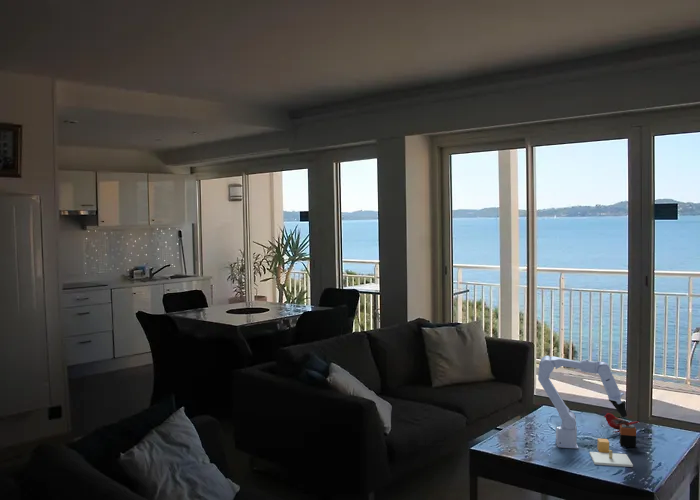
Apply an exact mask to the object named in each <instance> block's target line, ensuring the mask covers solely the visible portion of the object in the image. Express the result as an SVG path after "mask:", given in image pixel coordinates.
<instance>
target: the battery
mask: <svg viewBox="0 0 700 500" xmlns="http://www.w3.org/2000/svg"><path fill="white" fill-rule="evenodd" d="M619 444H620V447H627V448H628V447H629V448H636V447H637V428H636V426H635V424H632V425H629V426H626V425H620V432H619Z"/></svg>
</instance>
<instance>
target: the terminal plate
mask: <svg viewBox="0 0 700 500" xmlns="http://www.w3.org/2000/svg"><path fill="white" fill-rule="evenodd" d="M589 456H590V458H591V459H592V463H593V464H594V465H598V466H613V467H626V468H627V467H631V468H633V467H634V464H633V463H632V461H631V459H630V458H629V456H628V454H626V453H618V452H617V453H614V451H613V450H612V449H609V453H604V452H599V451H598V452H597V451H589Z"/></svg>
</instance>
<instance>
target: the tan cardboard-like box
mask: <svg viewBox="0 0 700 500" xmlns="http://www.w3.org/2000/svg"><path fill="white" fill-rule="evenodd" d="M596 443H597V446H596V449H597V451H598V452H601V453H609V450H610V441H609V440H608V438H597V442H596Z"/></svg>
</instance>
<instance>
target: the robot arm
mask: <svg viewBox="0 0 700 500" xmlns="http://www.w3.org/2000/svg"><path fill="white" fill-rule="evenodd" d="M561 367H564V368H565V367H566V368H573V369H579V370H580V372H582V373H588V374H589V373H590V374H595V375H599V377H600V380H601V383H602V385H603V388H604V390H605V392H606V395H607V398H608V401H609V402H610V403H611V404H612V406H613V407H614V408H615V410H616V411H617V412H618V414H619V415H620V416H621V417H622V418H624V417H627V416H628V415H627V409H626V401H625V400H622V397H623V396H624V395H625V394H624V392H621V391H620V389H619V385H618V383H617V382H616V380H615V377H614V375H613V373H612V371H611V368H610V365H609V364H608V362H606V361H602V360H601V361H599V360H597V361H596V360H589V358H585V359H582V360H579V361H578V360H573V359H568V358H564V357H560V356H554V355H553V356H550V355H545V356H543V357H542V358H541V359H540V361H539V365H538V375H537V377H538V378H537V380H538V382H539V383H540V385H541V386H542V388H543V391H544V392H545V393H546V395H547V396H548V398H549V400H550V401H551V403H552V404H553V406H554V408H555V409H556V411H557V414H558V415H559V417H560V419H561V424H560V426H556V427H555V444H556V446H557V447H558V448H562V449H563V448H565V449H578V450H579V446H578V442H577V439H578V438H577V434H578V433H577V430H578V428H577V427H578V426H577V421H576V420H577V419H576V414H575V413H574V412H573V411H572V410H570V408H569V407H568V406H567V405H566V403H565V401H564V400H563V399H562V396H560V394H559V391H557V389H556V387H555V385H554V383H553V382H552V381H551V379H550V377H551V376H550V375H551V373H552V372H553V371H554V369H555V370H557V369H559V368H561Z"/></svg>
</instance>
